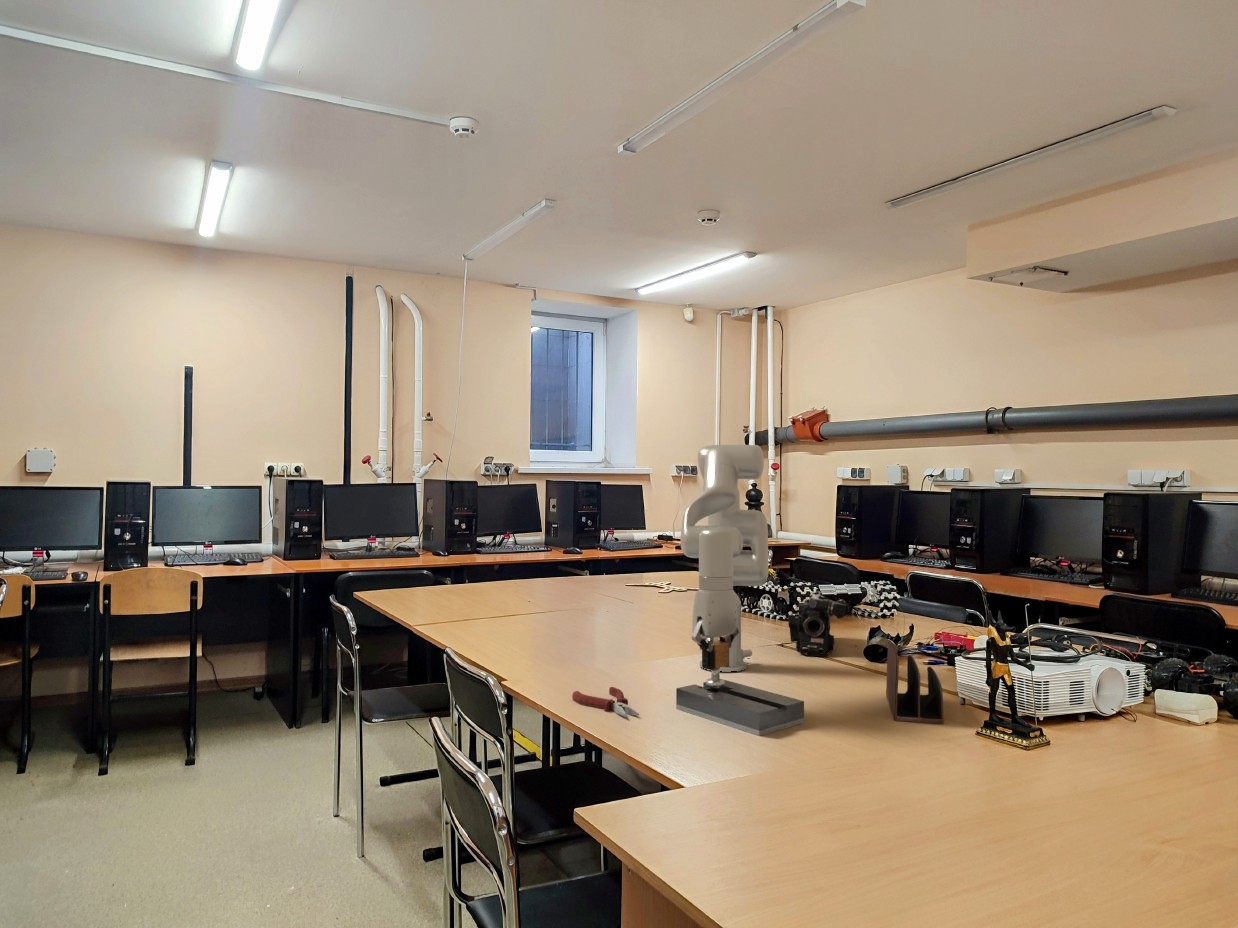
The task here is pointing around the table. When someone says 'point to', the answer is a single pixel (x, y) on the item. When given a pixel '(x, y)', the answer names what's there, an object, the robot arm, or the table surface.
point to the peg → (718, 664)
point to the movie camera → (815, 624)
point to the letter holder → (913, 693)
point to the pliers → (606, 702)
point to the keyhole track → (741, 707)
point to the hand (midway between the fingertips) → (715, 666)
